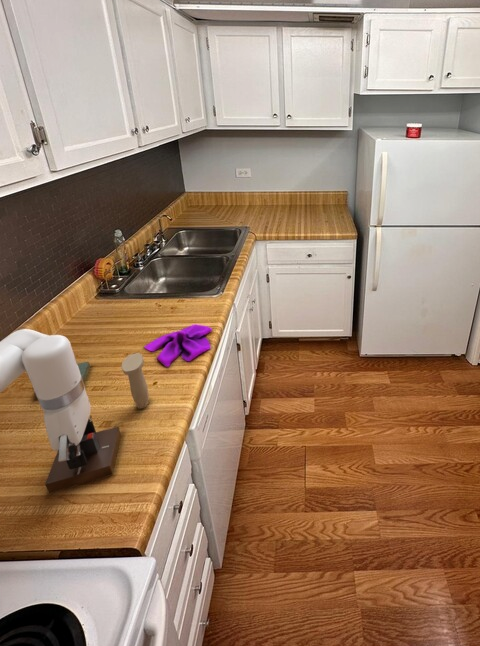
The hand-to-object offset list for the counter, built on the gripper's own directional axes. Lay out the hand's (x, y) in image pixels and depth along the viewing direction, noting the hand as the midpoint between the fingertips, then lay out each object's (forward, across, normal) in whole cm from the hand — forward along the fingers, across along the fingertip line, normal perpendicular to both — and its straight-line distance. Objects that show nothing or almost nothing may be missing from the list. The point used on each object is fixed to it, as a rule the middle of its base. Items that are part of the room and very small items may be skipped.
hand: (83, 449), depth 75 cm
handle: (+4, -13, +10) cm, 17 cm away
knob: (+1, 0, 0) cm, 1 cm away
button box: (+4, -29, -13) cm, 32 cm away
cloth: (+4, -35, +19) cm, 40 cm away
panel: (+4, 0, 0) cm, 4 cm away
